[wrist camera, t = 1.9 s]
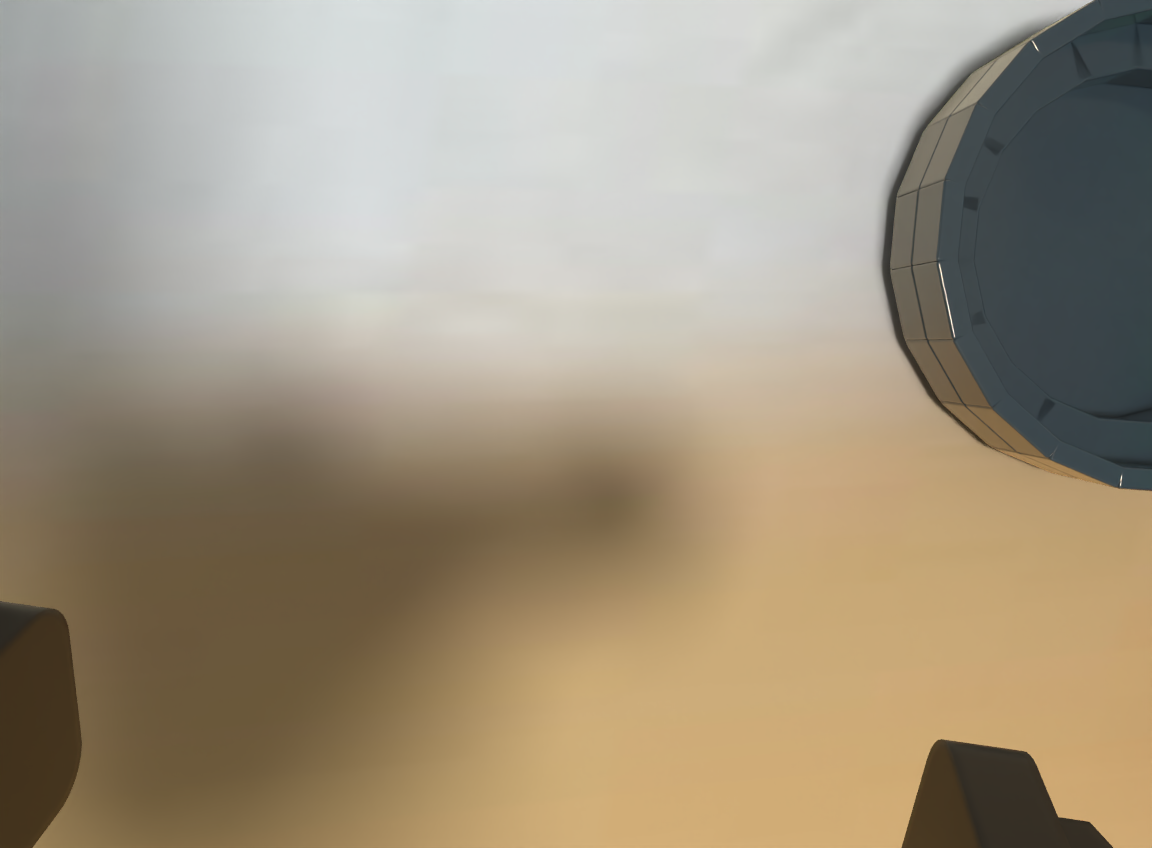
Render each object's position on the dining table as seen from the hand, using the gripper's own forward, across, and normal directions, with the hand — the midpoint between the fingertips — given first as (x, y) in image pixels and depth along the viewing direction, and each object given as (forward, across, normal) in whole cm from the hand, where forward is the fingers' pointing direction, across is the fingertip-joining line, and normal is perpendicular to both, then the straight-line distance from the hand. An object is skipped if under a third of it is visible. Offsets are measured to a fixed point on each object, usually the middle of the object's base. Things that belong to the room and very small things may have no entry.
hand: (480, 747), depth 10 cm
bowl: (+25, -14, 0) cm, 29 cm away
